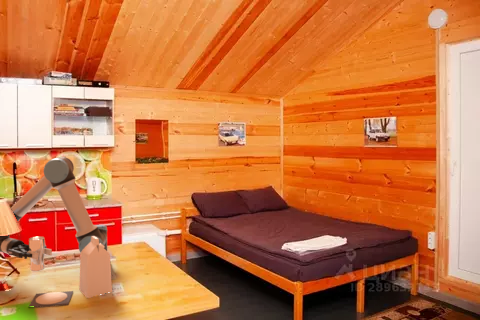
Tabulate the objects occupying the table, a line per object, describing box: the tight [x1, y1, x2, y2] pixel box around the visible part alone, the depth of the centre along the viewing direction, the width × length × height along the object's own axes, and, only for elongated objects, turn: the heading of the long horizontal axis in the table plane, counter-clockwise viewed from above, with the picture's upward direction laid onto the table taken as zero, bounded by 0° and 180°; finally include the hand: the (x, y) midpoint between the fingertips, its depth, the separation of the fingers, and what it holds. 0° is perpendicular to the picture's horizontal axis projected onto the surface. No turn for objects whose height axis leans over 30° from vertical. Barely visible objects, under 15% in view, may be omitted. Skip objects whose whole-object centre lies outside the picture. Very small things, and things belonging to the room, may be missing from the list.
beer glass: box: [28, 236, 46, 272], centre depth 199 cm, size 7×7×15 cm
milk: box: [78, 236, 113, 299], centre depth 199 cm, size 12×12×26 cm
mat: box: [28, 290, 74, 308], centre depth 189 cm, size 16×14×1 cm
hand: (44, 254), depth 197 cm, fingers closed on beer glass, 6 cm apart
